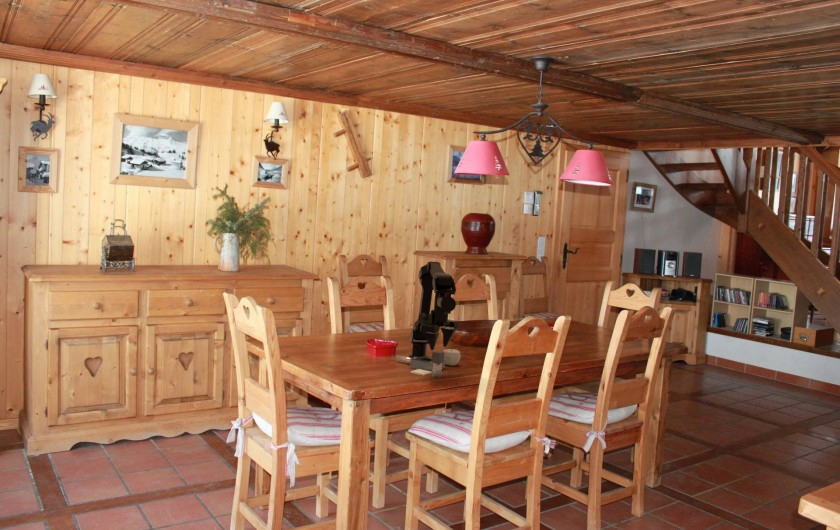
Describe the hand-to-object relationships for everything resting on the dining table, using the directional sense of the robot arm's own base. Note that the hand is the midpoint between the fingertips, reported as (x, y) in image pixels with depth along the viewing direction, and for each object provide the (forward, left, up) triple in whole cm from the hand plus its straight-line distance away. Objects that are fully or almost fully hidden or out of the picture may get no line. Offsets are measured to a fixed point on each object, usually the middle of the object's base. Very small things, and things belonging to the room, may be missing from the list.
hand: (438, 348), depth 272 cm
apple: (-22, -7, -11) cm, 26 cm away
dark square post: (0, 0, -11) cm, 11 cm away
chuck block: (-9, -15, -11) cm, 21 cm away
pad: (0, -7, -11) cm, 13 cm away
